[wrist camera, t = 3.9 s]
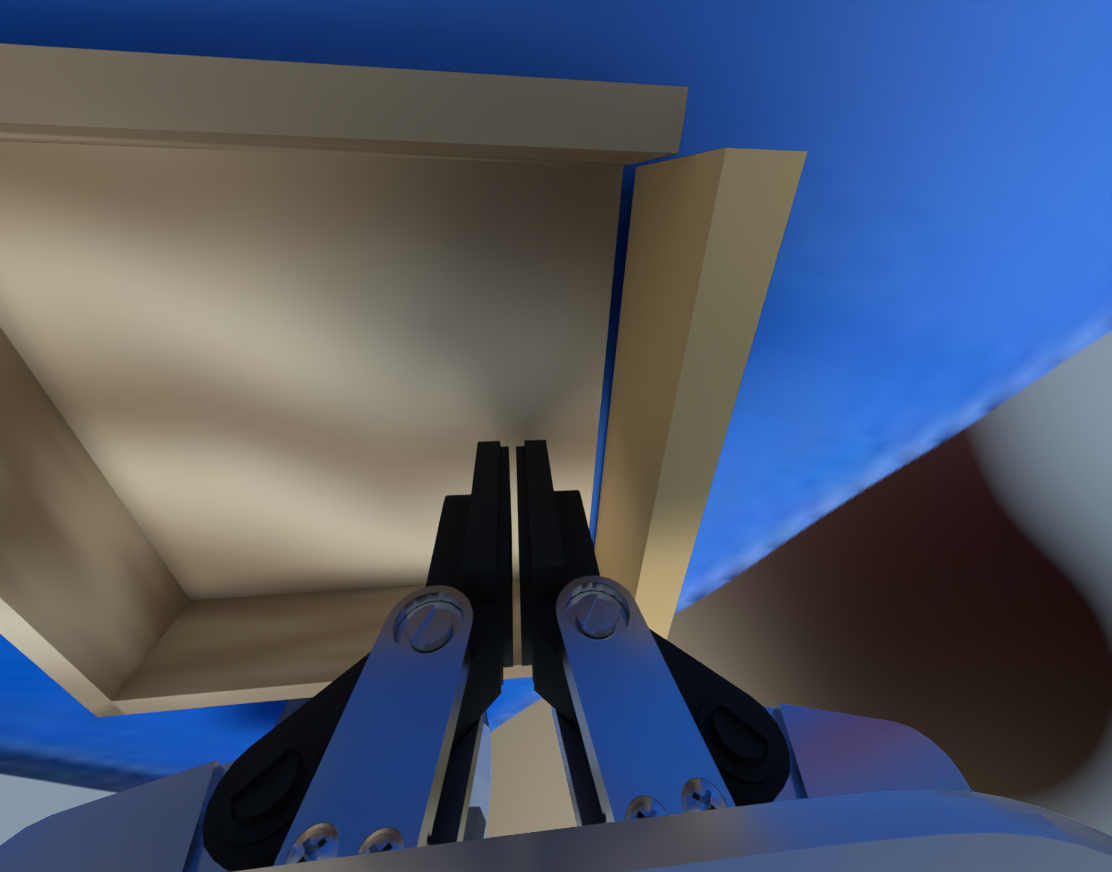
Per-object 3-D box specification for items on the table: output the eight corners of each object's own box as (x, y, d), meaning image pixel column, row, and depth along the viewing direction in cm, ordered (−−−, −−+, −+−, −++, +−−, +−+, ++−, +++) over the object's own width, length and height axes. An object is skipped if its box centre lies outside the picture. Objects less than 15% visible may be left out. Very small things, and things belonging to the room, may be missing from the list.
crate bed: (-183, 84, 8) (-737, -3, 4) (622, 126, 9) (688, 87, 6) (186, 603, 16) (96, 717, 12) (581, 577, 17) (599, 670, 14)
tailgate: (636, 167, 9) (726, 147, 5) (685, 168, 9) (807, 151, 6) (591, 573, 17) (617, 687, 13) (620, 571, 17) (653, 684, 13)
